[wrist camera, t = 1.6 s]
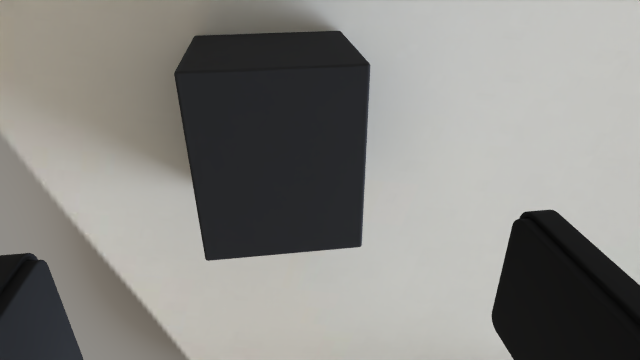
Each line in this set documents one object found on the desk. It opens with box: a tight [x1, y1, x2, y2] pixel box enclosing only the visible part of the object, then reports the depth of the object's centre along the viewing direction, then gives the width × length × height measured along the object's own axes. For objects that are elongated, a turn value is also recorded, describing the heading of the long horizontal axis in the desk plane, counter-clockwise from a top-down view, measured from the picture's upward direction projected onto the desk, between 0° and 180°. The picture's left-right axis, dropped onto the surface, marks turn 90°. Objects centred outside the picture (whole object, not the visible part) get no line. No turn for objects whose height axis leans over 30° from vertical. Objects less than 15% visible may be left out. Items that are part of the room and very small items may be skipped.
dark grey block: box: [174, 31, 370, 261], centre depth 15 cm, size 6×5×4 cm
